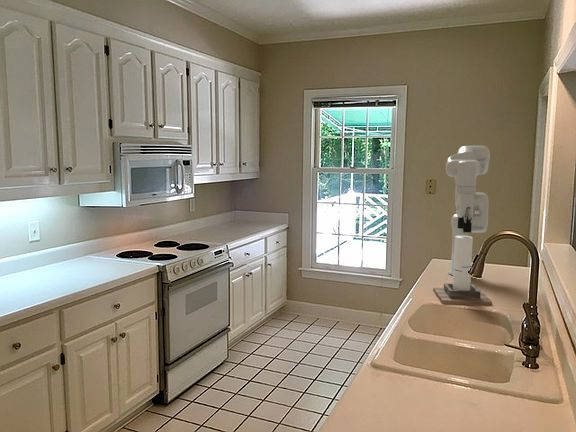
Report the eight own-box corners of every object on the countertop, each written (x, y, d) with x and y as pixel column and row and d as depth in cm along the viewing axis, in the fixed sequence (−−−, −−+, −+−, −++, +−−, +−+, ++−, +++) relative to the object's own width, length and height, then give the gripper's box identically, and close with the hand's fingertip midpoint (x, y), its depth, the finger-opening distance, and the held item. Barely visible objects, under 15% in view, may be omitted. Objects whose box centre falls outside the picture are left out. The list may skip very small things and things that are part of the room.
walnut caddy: (433, 290, 225) (433, 280, 225) (478, 292, 223) (479, 282, 223) (442, 303, 206) (442, 293, 205) (492, 305, 203) (492, 294, 203)
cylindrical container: (471, 296, 210) (474, 238, 207) (453, 295, 212) (456, 238, 209) (468, 292, 217) (471, 235, 214) (451, 291, 219) (454, 235, 216)
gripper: (452, 188, 218) (450, 226, 220) (461, 192, 201) (460, 233, 203) (469, 188, 217) (468, 227, 219) (481, 192, 200) (478, 233, 202)
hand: (464, 230), depth 211 cm, fingers open, 9 cm apart
